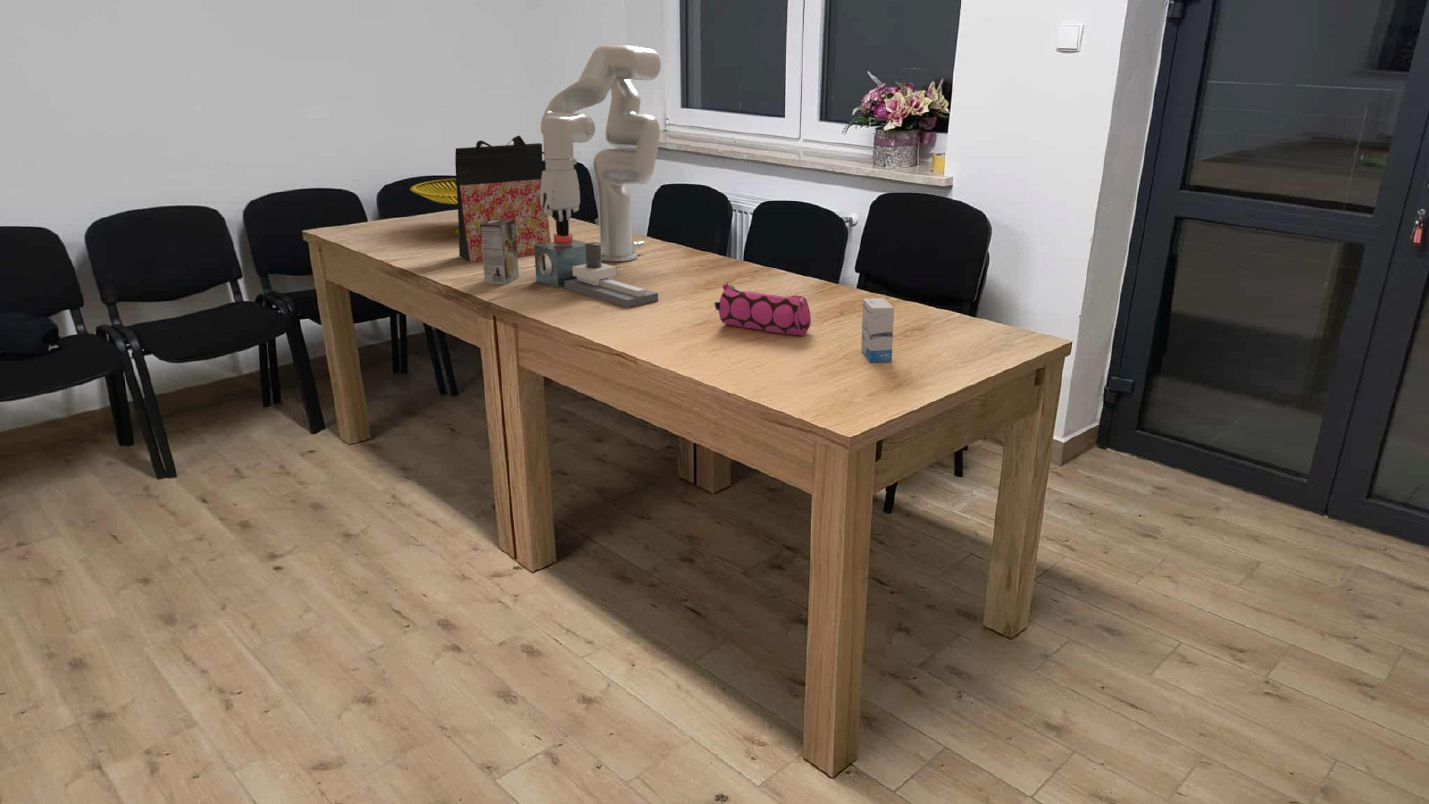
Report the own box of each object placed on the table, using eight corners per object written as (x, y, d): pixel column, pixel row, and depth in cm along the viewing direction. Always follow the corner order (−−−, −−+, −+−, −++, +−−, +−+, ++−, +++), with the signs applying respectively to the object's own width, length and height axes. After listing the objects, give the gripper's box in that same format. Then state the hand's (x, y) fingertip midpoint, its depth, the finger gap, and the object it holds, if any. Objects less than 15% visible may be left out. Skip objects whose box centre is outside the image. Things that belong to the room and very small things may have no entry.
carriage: (597, 276, 262) (595, 239, 259) (616, 281, 257) (614, 244, 253) (573, 281, 257) (571, 243, 254) (591, 286, 252) (590, 248, 248)
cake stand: (497, 215, 356) (494, 173, 350) (561, 232, 328) (558, 186, 323) (392, 229, 330) (387, 184, 325) (451, 249, 303) (447, 200, 297)
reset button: (565, 239, 266) (564, 232, 265) (576, 242, 263) (576, 235, 262) (550, 242, 263) (549, 234, 262) (561, 245, 259) (560, 237, 259)
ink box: (892, 362, 204) (896, 308, 200) (868, 363, 204) (871, 308, 199) (882, 349, 212) (885, 297, 208) (859, 350, 212) (862, 297, 207)
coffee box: (497, 275, 272) (493, 217, 266) (519, 276, 271) (515, 218, 265) (484, 283, 263) (479, 224, 258) (506, 285, 262) (502, 225, 256)
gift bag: (473, 264, 284) (462, 140, 271) (457, 255, 295) (446, 135, 282) (567, 253, 298) (561, 135, 286) (548, 244, 310) (542, 130, 297)
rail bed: (594, 282, 266) (594, 269, 264) (658, 300, 248) (657, 287, 247) (564, 288, 259) (563, 275, 258) (627, 307, 242) (627, 294, 240)
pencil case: (712, 329, 226) (713, 287, 222) (730, 318, 234) (731, 278, 230) (799, 342, 217) (801, 298, 214) (814, 330, 225) (816, 288, 222)
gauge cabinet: (572, 274, 274) (570, 238, 270) (594, 280, 267) (592, 244, 264) (533, 281, 265) (531, 245, 262) (555, 288, 259) (553, 251, 255)
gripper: (573, 161, 263) (576, 229, 269) (527, 166, 253) (531, 236, 260) (591, 164, 258) (593, 233, 264) (544, 169, 248) (548, 241, 255)
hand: (562, 234), depth 262 cm, fingers closed
